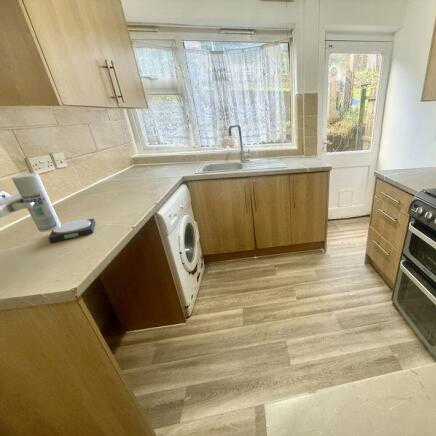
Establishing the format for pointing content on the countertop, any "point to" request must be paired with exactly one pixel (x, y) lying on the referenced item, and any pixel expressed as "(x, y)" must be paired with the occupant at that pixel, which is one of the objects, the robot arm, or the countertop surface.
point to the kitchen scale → (72, 230)
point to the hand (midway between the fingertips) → (40, 201)
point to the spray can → (37, 201)
